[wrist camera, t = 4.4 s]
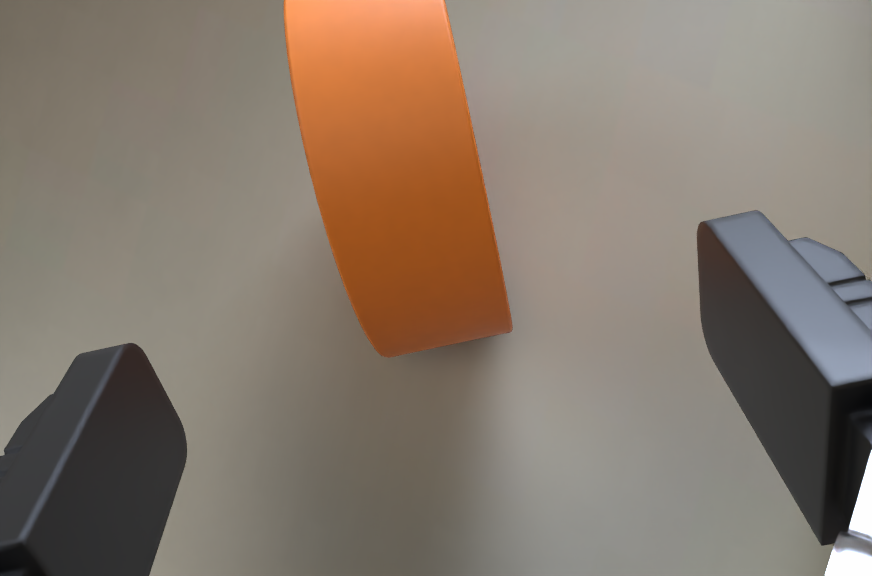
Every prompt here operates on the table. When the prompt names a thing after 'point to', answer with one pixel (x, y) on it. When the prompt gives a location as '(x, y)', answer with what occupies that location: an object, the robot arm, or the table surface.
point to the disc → (396, 170)
